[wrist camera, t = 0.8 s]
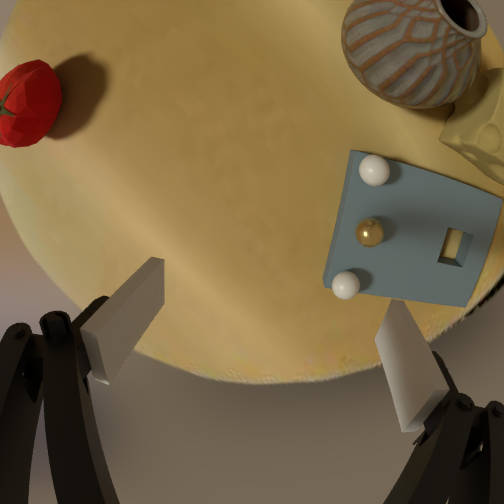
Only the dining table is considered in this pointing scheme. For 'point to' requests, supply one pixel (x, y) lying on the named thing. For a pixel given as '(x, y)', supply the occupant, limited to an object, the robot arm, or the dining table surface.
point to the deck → (412, 234)
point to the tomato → (28, 103)
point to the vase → (414, 48)
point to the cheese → (480, 124)
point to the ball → (369, 232)
